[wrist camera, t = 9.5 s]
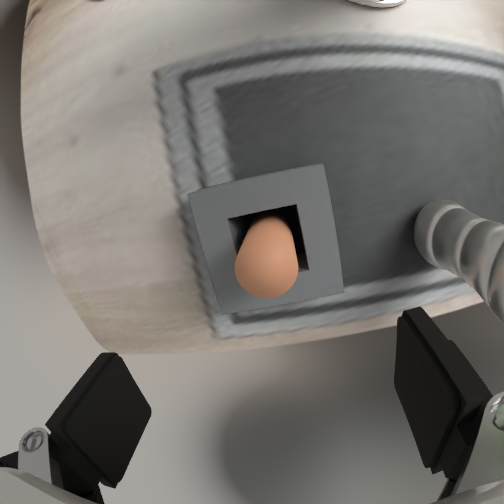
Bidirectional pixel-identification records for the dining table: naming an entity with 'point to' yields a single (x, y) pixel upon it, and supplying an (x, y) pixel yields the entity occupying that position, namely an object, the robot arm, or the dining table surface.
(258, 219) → the peg
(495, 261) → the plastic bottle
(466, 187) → the dining table surface
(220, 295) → the socket block
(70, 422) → the robot arm
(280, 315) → the dining table surface
